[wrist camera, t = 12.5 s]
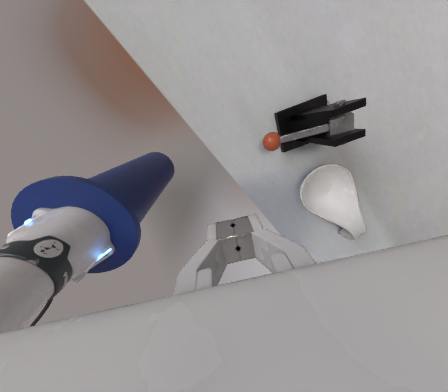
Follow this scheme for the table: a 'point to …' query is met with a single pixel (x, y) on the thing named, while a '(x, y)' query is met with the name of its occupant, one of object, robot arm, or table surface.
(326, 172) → the spoon rest
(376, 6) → the table surface
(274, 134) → the power lever
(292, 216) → the table surface
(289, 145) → the switch bracket
